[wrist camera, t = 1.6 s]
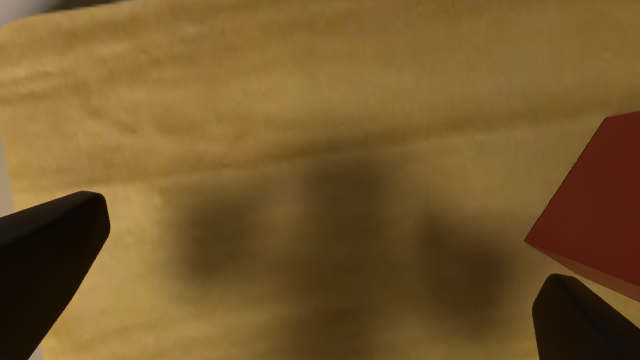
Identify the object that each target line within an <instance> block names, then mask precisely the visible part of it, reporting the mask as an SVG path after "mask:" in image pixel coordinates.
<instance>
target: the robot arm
mask: <svg viewBox="0 0 640 360" xmlns="http://www.w3.org/2000/svg"><path fill="white" fill-rule="evenodd" d="M109 233H110V220H109V215H108V209H107V204H106V200H105V197H104V196H103V195H102V194H100V193H96V192H90V191H79V192H76V193H73V194H70V195H67V196H64V197H61V198H58V199H55V200H52V201H49V202H46V203H43V204H40V205H37V206H34V207H31V208H28V209H25V210H22V211H19V212H16V213H13V214H10V215H7V216H4V217H1V218H0V360H28V359H29V358H30V356H31V355H32V353H33V352H34V351H35V349H36V348H37V347H38V345H39V344H40V343H41V341H42V340H43V338H44V337H45V336H46V334H47V333H48V332H49V330H50V329H51V327H52V326H53V325H54V323H55V322H56V321H57V319H58V318H59V316H60V315H61V314H62V312H63V311H64V310H65V308H66V307H67V305H68V304H69V302H70V301H71V299H72V298H73V296H74V295H75V293H76V291H77V290H78V288H79V286H80V285H81V283H82V281H83V280H84V278H85V276H86V274H87V273H88V271H89V269H90V267H91V266H92V264H93V262H94V261H95V259H96V257H97V255H98V254H99V252H100V250H101V248H102V247H103V245H104V243H105V242H106V240H107V238H108V236H109ZM532 316H533V323H534V329H535V335H536V341H537V347H538V354H539V360H640V329H639V328H638V327H637V326H635V325H634V324H633V323H632V322H630V321H629V320H628V319H627V318H625V317H624V316H623V315H622V314H620V313H619V312H618V311H617V310H615V309H614V308H613V307H612V306H610V305H609V304H608V303H607V302H605V301H604V300H603V299H602V298H600V297H599V296H598V295H597V294H595V293H594V292H593V291H592V290H590V289H589V288H588V287H587V286H585V285H584V284H583V283H582V282H580V281H579V280H578V279H577V278H575V277H572V276H567V275H562V274H556V273H554V274H551V275H549V276H548V277H547V279H546V280H545V282H544V284H543V286H542V288H541V290H540V292H539V293H538V295H537V297H536V299H535V301H534V303H533V307H532Z"/></svg>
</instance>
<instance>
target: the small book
mask: <svg viewBox="0 0 640 360" xmlns="http://www.w3.org/2000/svg"><path fill="white" fill-rule="evenodd" d="M525 242H526V243H528V244H530V245H531V246H533V247H534V248H536V249H538V250H539V251H541V252H543V253H544V254H546V255H547V256H549V257H551V258H552V259H554V260H555V261H557V262H559V263H560V264H562V265H563V266H565V267H567V268H568V269H570V270H572V271H573V272H575V273H576V274H578V275H580V276H582V277H584V278H587V279H589V280H591V281H593V282H596V283H598V284H600V285H602V286H604V287H607V288H609V289H611V290H613V291H616V292H618V293H620V294H622V295H624V296H627V297H629V298H631V299H633V300H636V301H638V302H640V111H637V112H633V113H628V114H623V115H618V116H613V117H608V118H606V119H605V120H604V122H603V123H602V125H601V126H600V128H599V129H598V131H597V132H596V134H595V135H594V137H593V138H592V140H591V141H590V143H589V144H588V146H587V147H586V149H585V150H584V152H583V153H582V155H581V156H580V158H579V159H578V161H577V162H576V164H575V165H574V167H573V168H572V170H571V172H570V173H569V175H568V176H567V178H566V179H565V181H564V182H563V184H562V185H561V187H560V188H559V190H558V191H557V193H556V194H555V196H554V197H553V199H552V200H551V202H550V203H549V205H548V206H547V208H546V209H545V211H544V212H543V214H542V215H541V217H540V218H539V220H538V221H537V223H536V224H535V226H534V227H533V229H532V230H531V232H530V233H529V235H528V236H527V238H526V239H525Z"/></svg>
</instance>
